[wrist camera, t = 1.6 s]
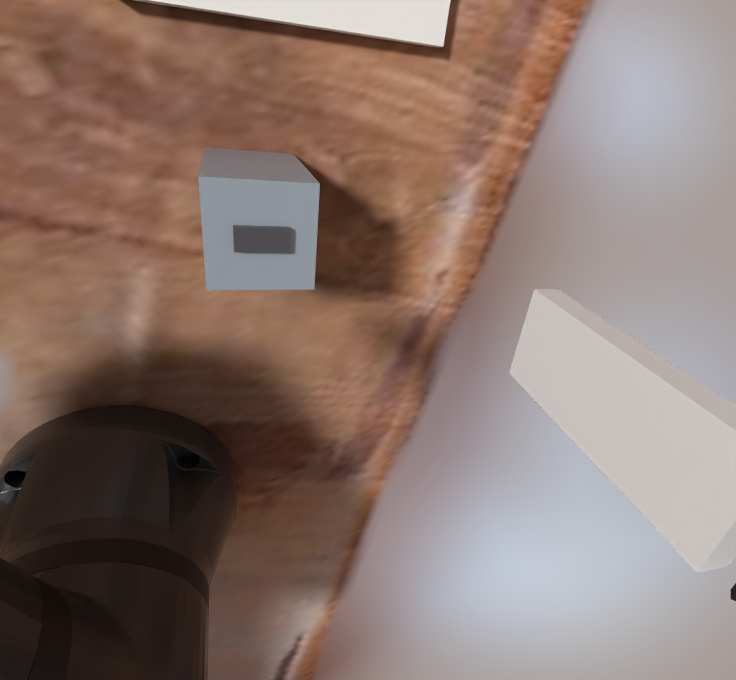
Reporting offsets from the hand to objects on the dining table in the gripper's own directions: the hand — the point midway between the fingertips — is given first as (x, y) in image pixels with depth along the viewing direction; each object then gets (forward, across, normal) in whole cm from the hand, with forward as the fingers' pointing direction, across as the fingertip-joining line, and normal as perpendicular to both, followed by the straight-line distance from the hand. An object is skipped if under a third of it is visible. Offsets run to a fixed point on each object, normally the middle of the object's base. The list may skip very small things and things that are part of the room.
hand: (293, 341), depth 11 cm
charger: (+17, 0, 0) cm, 17 cm away
